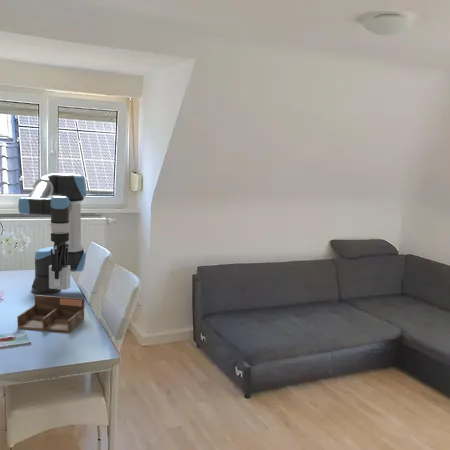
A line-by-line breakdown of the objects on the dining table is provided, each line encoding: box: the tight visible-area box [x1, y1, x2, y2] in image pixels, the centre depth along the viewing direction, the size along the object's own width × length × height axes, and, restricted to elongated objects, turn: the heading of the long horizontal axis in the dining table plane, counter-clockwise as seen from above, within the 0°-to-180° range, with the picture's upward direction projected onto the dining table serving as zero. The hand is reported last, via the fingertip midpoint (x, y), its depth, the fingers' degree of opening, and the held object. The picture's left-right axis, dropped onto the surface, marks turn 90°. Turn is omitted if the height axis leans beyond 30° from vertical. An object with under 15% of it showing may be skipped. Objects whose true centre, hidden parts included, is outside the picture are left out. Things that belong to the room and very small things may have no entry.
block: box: [49, 265, 71, 291], centre depth 215 cm, size 4×8×10 cm, turn 84°
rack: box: [16, 294, 85, 334], centre depth 220 cm, size 17×23×10 cm
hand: (59, 284), depth 216 cm, fingers closed on block, 4 cm apart
